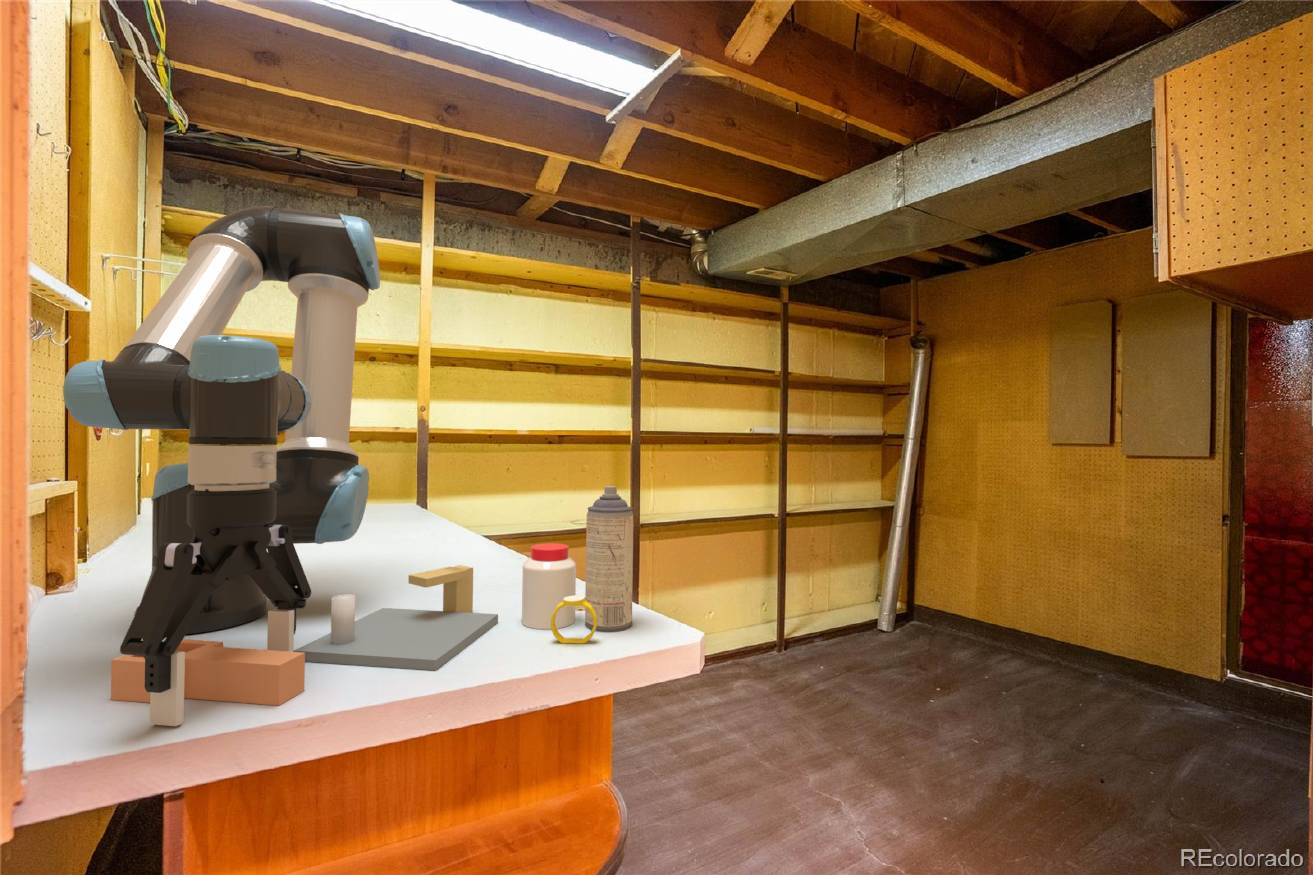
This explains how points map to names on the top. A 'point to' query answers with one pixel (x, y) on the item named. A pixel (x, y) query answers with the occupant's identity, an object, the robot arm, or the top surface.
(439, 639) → the board
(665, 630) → the top surface
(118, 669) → the link
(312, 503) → the robot arm
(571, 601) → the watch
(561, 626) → the pill bottle
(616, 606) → the aerosol can
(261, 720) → the top surface
